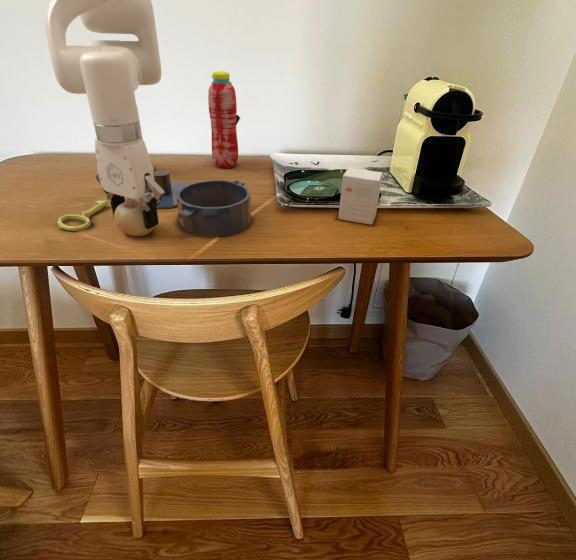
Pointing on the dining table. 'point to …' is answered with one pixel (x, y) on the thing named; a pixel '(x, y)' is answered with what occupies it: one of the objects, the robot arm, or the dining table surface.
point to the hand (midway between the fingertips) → (136, 221)
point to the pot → (214, 218)
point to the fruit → (131, 218)
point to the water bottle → (223, 120)
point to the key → (82, 217)
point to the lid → (166, 189)
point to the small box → (359, 195)
